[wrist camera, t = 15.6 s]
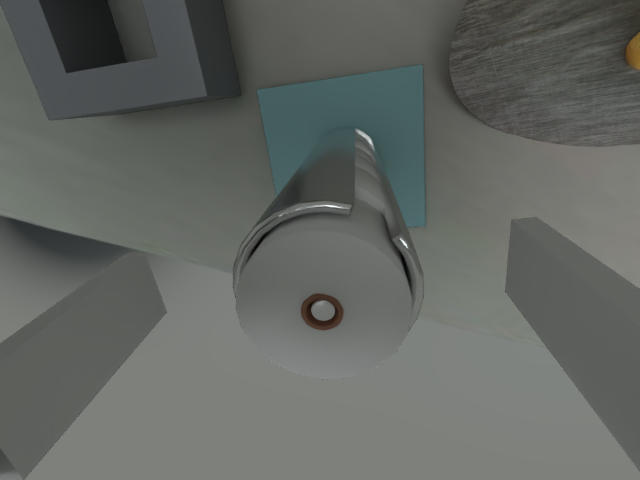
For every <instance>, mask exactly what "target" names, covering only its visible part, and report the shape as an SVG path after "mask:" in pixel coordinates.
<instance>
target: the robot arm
mask: <svg viewBox="0 0 640 480" xmlns="http://www.w3.org/2000/svg"><path fill="white" fill-rule="evenodd" d="M505 292H506V293H507V295H508V296H509V297H510V299H511V300H512V301H513V303H514V304H515V305H516V307H517V308H518V309H519V311H520V312H521V313H522V315H523V316H524V317H525V319H526V320H527V321H528V323H529V324H530V325H531V327H532V328H533V330H534V331H535V332H536V334H537V335H538V336H539V338H540V339H541V340H542V342H543V343H544V344H545V346H546V347H547V348H548V350H549V351H550V352H551V354H552V355H553V356H554V358H555V359H556V360H557V362H558V363H559V364H560V366H561V367H562V368H563V370H564V371H565V372H566V374H567V375H568V376H569V378H570V379H571V380H572V382H573V383H574V384H575V386H576V387H577V388H578V390H579V391H580V392H581V394H582V395H583V396H584V398H585V399H586V400H587V402H588V403H589V404H590V406H591V407H592V408H593V410H594V411H595V412H596V414H597V415H598V416H599V418H600V419H601V420H602V422H603V423H604V424H605V426H606V427H607V428H608V430H609V431H610V432H611V434H612V435H613V436H614V438H615V439H616V441H617V442H618V443H619V444H620V446H621V447H622V448H623V450H624V451H625V452H626V454H627V455H628V457H629V458H630V459H631V461H632V462H633V463H634V465H635V466H636V467H637V469H638V470H639V471H640V289H639V288H638V287H636V286H635V285H633V284H632V283H630V282H629V281H628V280H626V279H625V278H623V277H622V276H620V275H619V274H617V273H616V272H615V271H613V270H612V269H610V268H609V267H607V266H606V265H605V264H603V263H602V262H600V261H599V260H597V259H596V258H594V257H593V256H592V255H590V254H589V253H587V252H586V251H584V250H583V249H582V248H580V247H579V246H577V245H576V244H574V243H573V242H571V241H570V240H569V239H567V238H566V237H564V236H563V235H561V234H560V233H559V232H557V231H556V230H554V229H553V228H551V227H550V226H548V225H547V224H546V223H544V222H543V221H541V220H540V219H538V218H537V217H534V218H523V219H511V230H510V242H509V253H508V264H507V275H506V286H505ZM166 312H167V311H166V308H165V306H164V303H163V300H162V297H161V295H160V292H159V289H158V287H157V284H156V281H155V279H154V276H153V273H152V271H151V268H150V265H149V263H148V260H147V257H146V254H145V252H140V253H128V254H125V255H124V256H122V257H121V258H120V259H118V260H117V261H115V262H114V263H113V264H111V265H110V266H108V267H107V268H105V269H104V270H103V271H101V272H100V273H99V274H97V275H96V276H94V277H93V278H92V279H90V280H89V281H88V282H86V283H84V284H83V285H82V286H81V287H79V288H77V289H76V290H75V291H73V292H72V293H70V294H69V295H68V296H66V297H65V298H63V299H62V300H61V301H59V302H58V303H56V304H55V305H53V306H52V307H51V308H49V309H48V310H46V311H45V312H44V313H43V314H41V315H39V316H38V317H37V318H35V319H34V320H32V321H31V322H30V323H28V324H27V325H25V326H24V327H23V328H21V329H20V330H18V331H17V332H16V333H14V334H13V335H11V336H10V337H8V338H7V339H6V340H4V341H3V342H1V343H0V480H24V479H25V478H26V477H27V476H28V475H29V473H30V472H31V471H32V470H33V469H34V468H35V466H36V465H37V464H38V463H39V462H40V461H41V459H42V458H43V457H44V456H45V455H46V454H47V452H48V451H49V450H50V449H51V448H52V446H53V445H54V444H55V443H56V442H57V441H58V440H59V438H60V437H61V436H62V435H63V433H64V432H65V431H66V430H67V429H68V428H69V427H70V425H71V424H72V423H73V422H74V421H75V419H76V418H77V417H78V416H79V415H80V413H81V412H82V411H83V410H84V409H85V408H86V407H87V405H88V404H89V403H90V402H91V401H92V400H93V398H94V397H95V396H96V395H97V394H98V393H99V391H100V390H101V389H102V388H103V386H104V385H105V384H106V383H107V382H108V381H109V380H110V378H111V377H112V376H113V375H114V374H115V373H116V371H117V370H118V369H119V368H120V367H121V365H122V364H123V363H124V362H125V361H126V360H127V358H128V357H129V356H130V355H131V354H132V353H133V351H134V350H135V349H136V348H137V346H138V345H139V344H140V343H141V342H142V341H143V340H144V338H145V337H146V336H147V335H148V334H149V332H150V331H151V330H152V329H153V328H154V327H155V326H156V324H157V323H158V322H159V321H160V320H161V318H162V317H163V316H164V315H165V314H166Z"/></svg>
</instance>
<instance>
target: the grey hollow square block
mask: <svg viewBox="0 0 640 480" xmlns="http://www.w3.org/2000/svg"><path fill="white" fill-rule="evenodd" d="M142 3H143V7H144V11H145V14H146V18H147V21H148V25H149V28H150V32H151V35H152V39H153V43H154V46H155V50H156V53H157V57H156V58H150V59H145V60H139V61H133V62H128V63H126V60H125V57H124V54H123V50H122V47H121V44H120V41H119V38H118V34H117V31H116V28H115V25H114V22H113V18H112V15H111V12H110V9H109V6H108V3H107V0H0V4H1V6H2V9H3V11H4V13H5V16H6V18H7V21H8V23H9V25H10V28H11V30H12V33H13V35H14V37H15V40H16V42H17V45H18V47H19V49H20V52H21V54H22V57H23V59H24V62H25V64H26V66H27V69H28V71H29V74H30V76H31V78H32V81H33V83H34V86H35V88H36V90H37V93H38V95H39V98H40V100H41V102H42V105H43V107H44V110H45V112H46V115H47V117H48V119H49V120H61V119H73V118H84V117H96V116H108V115H117V114H124V113H130V112H137V111H143V110H150V109H156V108H163V107H170V106H176V105H183V104H189V103H196V102H202V101H209V100H215V99H222V98H229V97H235V96H241V92H240V87H239V82H238V77H237V72H236V67H235V62H234V57H233V53H232V48H231V43H230V38H229V33H228V28H227V23H226V19H225V14H224V9H223V4H222V0H142Z"/></svg>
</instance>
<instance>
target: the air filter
mask: <svg viewBox="0 0 640 480" xmlns="http://www.w3.org/2000/svg"><path fill="white" fill-rule="evenodd" d="M233 290H234V294H235V298H236V311H237V314H238V318H239V321H240V325H241V327H242V329H243V330H244V332H245V334H246V335H247V337H248V339H249V340H250V342H251V343H252V344H253V345H254V346H255V347H256V348H257V349H258V350H259V351H260V352H261V353H262V354H263V355H264V356H265V357H266V358H267V359H269V360H270V361H272V362H274V363H275V364H277V365H278V366H280V367H282V368H283V369H286V370H289V371H292V372H295V373H298V374H301V375H304V376H309V377H313V378H317V379H321V380H325V379H342V378H347V377H350V376H353V375H357V374H361V373H364V372H366V371H369V370H371V369H373V368H375V367H378V366H380V365H382V364H383V363H384V362H386V361H387V360H388V359H389V358H390V357H391V356H392V355H394V354H395V353H396V352H397V351H398V349H399V347H400V345H401V344H402V342H403V340H404V339H405V337H406V335H407V333H408V331H409V330H410V329H411V327H412V326H413V324H414V323H415V321H416V320H417V318H418V314H419V311H420V308H421V304H422V301H423V298H424V279H423V271H422V268H421V265H420V262H419V259H418V256H417V253H416V250H415V248H414V245H413V242H412V240H411V237H410V235H409V232H408V229H407V227H406V224H405V221H404V219H403V216H402V213H401V211H400V208H399V205H398V203H397V200H396V197H395V195H394V192H393V190H392V187H391V184H390V182H389V179H388V176H387V174H386V171H385V168H384V166H383V163H382V160H381V158H380V155H379V152H378V150H377V147H376V145H375V143H374V142H373V140H372V139H371V137H369V136H368V135H367V134H366V133H365V132H363V131H361V130H359V129H356V128H351V127H341V128H336V129H334V130H332V131H329V132H328V133H327V134H325V135H324V136H323V137H322V138H321V139H320V140H319V142H318V143H317V144H316V146H315V147H314V148H313V150H312V151H311V152H310V154H309V155H308V156H307V158H306V159H305V160H304V161H303V163H302V164H301V165H300V167H299V168H298V169H297V171H296V172H295V173H294V175H293V176H292V177H291V179H290V180H289V181H288V183H287V184H286V185H285V186H284V188H283V189H282V190H281V192H280V193H279V194H278V196H277V197H276V198H275V200H274V201H273V202H272V204H271V205H270V206H269V207H268V209H267V210H266V211H265V213H264V214H263V215H262V217H261V218H260V219H259V221H258V222H257V223H256V225H255V226H254V227H253V229H252V230H251V231H250V233H249V234H248V235H247V237H246V238H245V239H244V241H243V242H242V243H241V245H240V248H239V251H238V254H237V257H236V260H235V263H234V266H233Z"/></svg>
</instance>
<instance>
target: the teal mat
mask: <svg viewBox="0 0 640 480" xmlns="http://www.w3.org/2000/svg"><path fill="white" fill-rule="evenodd" d="M257 95H258V100H259V105H260V111H261V116H262V121H263V126H264V132H265V137H266V142H267V148H268V153H269V158H270V164H271V169H272V174H273V180H274V185H275V190H276V195H277V196H278V194H279V193H280V192H281V190H282V189H283V188H284V186H285V185H286V184H287V183H288V181H289V180H290V179H291V177H292V176H293V175H294V173H295V172H296V171H297V169H298V168H299V167H300V165H301V164H302V163H303V161H304V160H305V159H306V158H307V156H308V155H309V154H310V152H311V151H312V150H313V148H314V147H315V146H316V144H317V143H318V142H319V140H320V139H321V138H322V137H323V136H324V135H325V134H327V133H328V132H329V131H332V130H334V129H336V128H341V127H351V128H356V129H359V130H361V131H363V132H365V133H366V134H367V135H368V136H369V137H371V139H372V140H373V142H374V143H375V145H376V147H377V150H378V152H379V155H380V158H381V160H382V163H383V166H384V168H385V171H386V174H387V176H388V179H389V182H390V184H391V187H392V190H393V192H394V195H395V197H396V200H397V203H398V205H399V208H400V211H401V213H402V216H403V219H404V221H405V224H406V227H418V226H426V222H425V163H424V104H423V64H422V65H415V66H409V67H402V68H396V69H389V70H383V71H376V72H370V73H363V74H357V75H350V76H344V77H337V78H331V79H324V80H318V81H311V82H305V83H298V84H292V85H285V86H279V87H272V88H266V89H259V90H257Z"/></svg>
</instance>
